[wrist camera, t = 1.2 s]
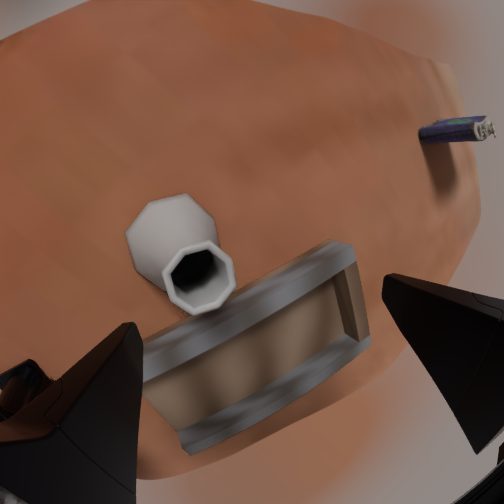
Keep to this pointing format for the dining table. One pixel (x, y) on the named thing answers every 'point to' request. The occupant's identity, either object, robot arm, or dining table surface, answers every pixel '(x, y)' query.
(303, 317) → the grey rectangular tray
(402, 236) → the dining table surface
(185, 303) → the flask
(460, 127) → the flask
